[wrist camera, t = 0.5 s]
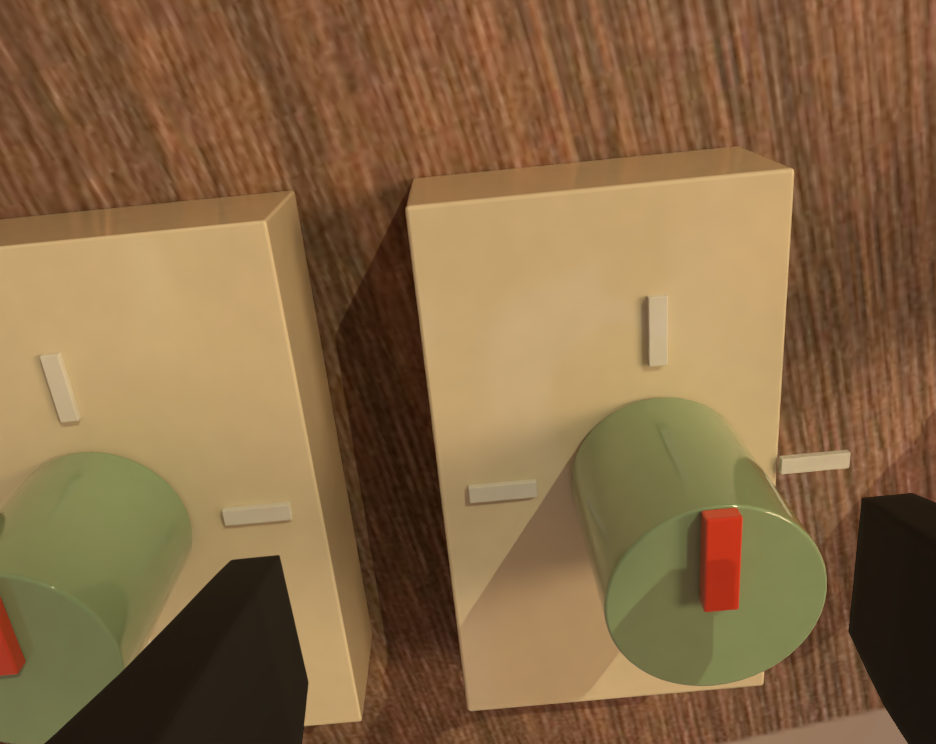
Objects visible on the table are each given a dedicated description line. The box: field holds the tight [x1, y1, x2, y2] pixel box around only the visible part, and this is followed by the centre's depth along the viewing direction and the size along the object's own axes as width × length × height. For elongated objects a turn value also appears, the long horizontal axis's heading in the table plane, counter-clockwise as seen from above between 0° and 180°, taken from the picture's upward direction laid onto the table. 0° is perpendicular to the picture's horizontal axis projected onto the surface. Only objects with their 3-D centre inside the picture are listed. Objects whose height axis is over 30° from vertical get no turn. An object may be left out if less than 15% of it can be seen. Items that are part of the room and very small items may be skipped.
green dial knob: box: [0, 452, 192, 744], centre depth 15 cm, size 4×4×4 cm
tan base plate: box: [0, 191, 372, 726], centre depth 18 cm, size 12×8×3 cm
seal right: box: [571, 397, 827, 686], centre depth 15 cm, size 4×4×4 cm
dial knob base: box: [405, 146, 850, 711], centre depth 18 cm, size 12×8×3 cm
